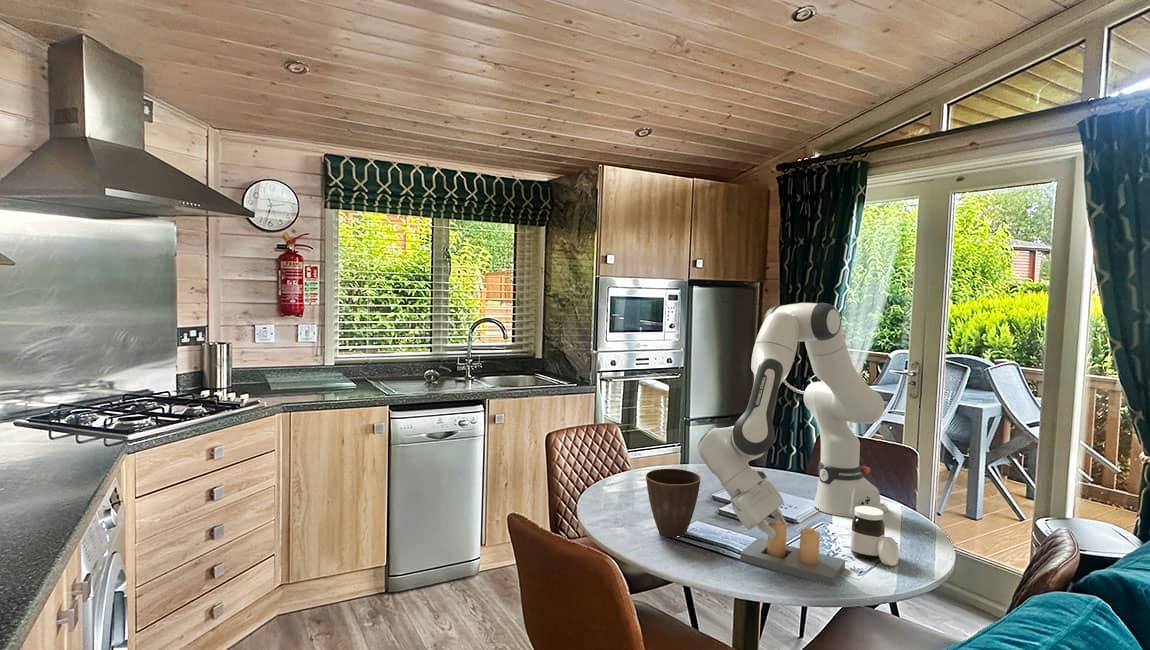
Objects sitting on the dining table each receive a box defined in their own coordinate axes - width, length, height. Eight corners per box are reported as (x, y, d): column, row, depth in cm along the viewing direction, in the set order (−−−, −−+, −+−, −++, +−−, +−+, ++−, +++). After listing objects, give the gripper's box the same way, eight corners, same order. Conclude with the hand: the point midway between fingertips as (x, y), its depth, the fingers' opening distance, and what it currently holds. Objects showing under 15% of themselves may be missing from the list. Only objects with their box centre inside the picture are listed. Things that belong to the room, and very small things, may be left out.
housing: (740, 560, 162) (741, 521, 161) (757, 545, 171) (758, 508, 171) (831, 586, 149) (833, 543, 148) (844, 568, 158) (846, 528, 158)
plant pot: (669, 548, 169) (670, 487, 168) (633, 529, 181) (634, 473, 180) (710, 536, 177) (712, 479, 176) (673, 519, 189) (675, 465, 188)
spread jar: (853, 544, 173) (855, 502, 172) (900, 554, 167) (902, 510, 167) (846, 560, 163) (849, 515, 162) (896, 571, 157) (899, 524, 156)
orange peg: (777, 555, 165) (779, 517, 165) (789, 562, 161) (790, 523, 160) (763, 557, 164) (764, 519, 163) (774, 564, 160) (775, 525, 159)
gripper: (736, 489, 157) (774, 538, 152) (766, 470, 173) (801, 513, 168) (718, 503, 160) (755, 551, 155) (749, 483, 176) (783, 526, 171)
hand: (779, 531), depth 162 cm, fingers open, 6 cm apart
